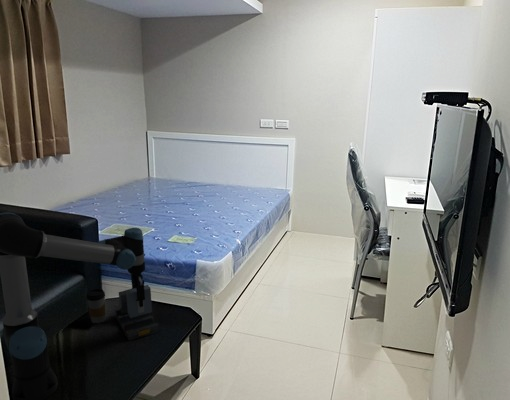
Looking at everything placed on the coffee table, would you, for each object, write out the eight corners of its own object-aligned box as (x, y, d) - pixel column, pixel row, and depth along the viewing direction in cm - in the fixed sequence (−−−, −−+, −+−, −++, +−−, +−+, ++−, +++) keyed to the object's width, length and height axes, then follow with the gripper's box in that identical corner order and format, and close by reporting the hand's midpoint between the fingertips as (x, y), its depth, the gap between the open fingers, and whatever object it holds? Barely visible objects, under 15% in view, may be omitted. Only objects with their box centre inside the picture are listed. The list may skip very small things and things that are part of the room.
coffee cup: (93, 315, 205) (90, 287, 201) (110, 316, 205) (107, 288, 201) (86, 324, 197) (82, 296, 193) (103, 325, 197) (100, 296, 193)
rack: (128, 341, 185) (126, 314, 181) (115, 315, 206) (112, 290, 202) (159, 332, 192) (157, 305, 188) (143, 307, 213) (141, 283, 209)
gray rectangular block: (130, 318, 186) (128, 293, 183) (127, 314, 189) (125, 290, 186) (152, 312, 191) (150, 288, 188) (149, 308, 194) (147, 284, 191)
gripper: (150, 267, 178) (153, 316, 185) (138, 254, 193) (142, 299, 199) (132, 271, 175) (136, 320, 181) (122, 257, 189) (126, 303, 195)
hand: (139, 309), depth 190 cm, fingers closed on gray rectangular block, 4 cm apart
